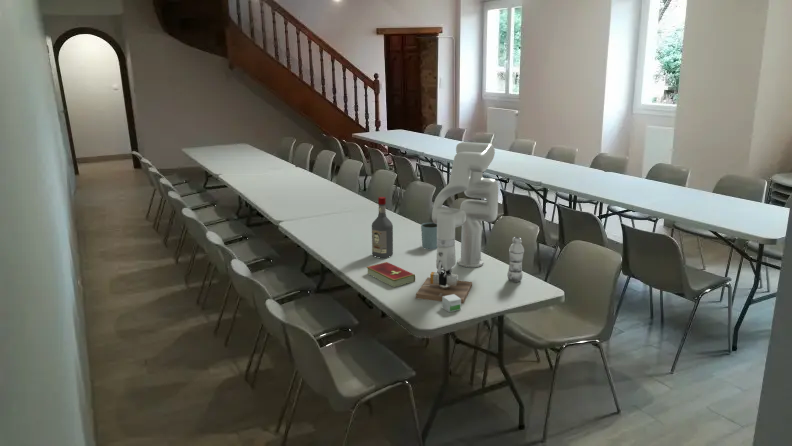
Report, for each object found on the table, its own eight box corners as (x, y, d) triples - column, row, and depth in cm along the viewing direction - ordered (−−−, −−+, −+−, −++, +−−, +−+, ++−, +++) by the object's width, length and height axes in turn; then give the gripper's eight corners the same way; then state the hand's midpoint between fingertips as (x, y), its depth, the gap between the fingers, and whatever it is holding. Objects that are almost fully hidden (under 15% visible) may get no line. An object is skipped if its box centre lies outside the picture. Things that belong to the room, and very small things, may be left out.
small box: (448, 312, 230) (449, 301, 228) (441, 307, 235) (441, 295, 233) (461, 310, 232) (461, 298, 231) (453, 304, 237) (454, 293, 236)
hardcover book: (387, 269, 278) (387, 261, 277) (415, 282, 262) (415, 273, 261) (366, 274, 271) (366, 266, 270) (393, 288, 255) (393, 279, 254)
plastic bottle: (512, 277, 266) (514, 234, 261) (525, 280, 262) (527, 238, 256) (504, 280, 262) (506, 237, 257) (516, 284, 257) (519, 241, 252)
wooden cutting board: (427, 281, 261) (427, 276, 261) (472, 286, 256) (472, 281, 255) (415, 298, 243) (415, 293, 243) (463, 303, 237) (463, 299, 237)
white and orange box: (457, 286, 250) (457, 273, 248) (455, 290, 246) (456, 277, 244) (431, 283, 252) (432, 271, 251) (429, 287, 248) (430, 274, 247)
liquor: (380, 251, 302) (380, 194, 294) (395, 254, 297) (394, 197, 289) (369, 256, 295) (368, 198, 287) (384, 259, 290) (383, 200, 282)
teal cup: (419, 249, 306) (419, 227, 302) (422, 243, 315) (422, 221, 312) (439, 250, 304) (439, 228, 301) (440, 244, 314) (441, 222, 310)
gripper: (445, 248, 235) (444, 291, 240) (462, 238, 249) (460, 278, 254) (428, 246, 238) (428, 288, 243) (445, 235, 252) (445, 275, 257)
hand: (444, 282), depth 248 cm, fingers closed on white and orange box, 4 cm apart
